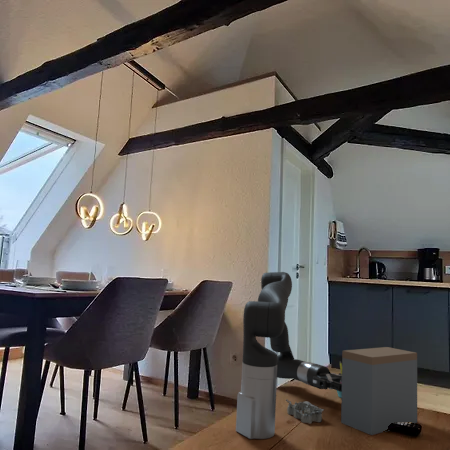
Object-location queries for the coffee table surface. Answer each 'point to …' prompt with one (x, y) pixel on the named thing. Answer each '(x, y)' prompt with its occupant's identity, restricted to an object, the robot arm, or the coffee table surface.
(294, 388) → the coffee table surface
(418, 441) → the coffee table surface
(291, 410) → the egg carton
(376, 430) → the counter
